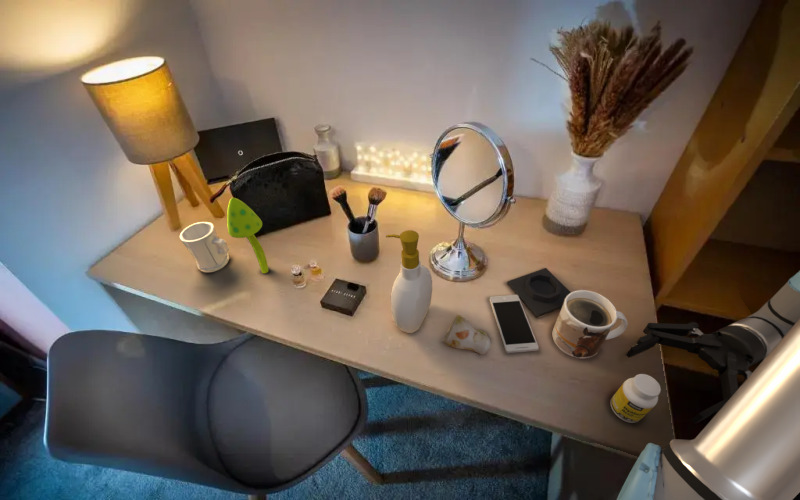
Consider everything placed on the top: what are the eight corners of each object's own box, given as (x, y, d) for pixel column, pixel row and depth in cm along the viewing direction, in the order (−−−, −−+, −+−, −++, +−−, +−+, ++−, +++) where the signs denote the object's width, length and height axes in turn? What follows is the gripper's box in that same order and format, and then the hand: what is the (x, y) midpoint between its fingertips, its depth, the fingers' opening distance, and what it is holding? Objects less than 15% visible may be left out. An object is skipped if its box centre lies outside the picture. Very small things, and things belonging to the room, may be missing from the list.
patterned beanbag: (488, 367, 74) (467, 343, 69) (452, 356, 81) (430, 334, 76) (500, 336, 78) (481, 311, 72) (464, 329, 85) (444, 306, 79)
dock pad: (577, 302, 86) (580, 294, 84) (536, 318, 83) (538, 310, 81) (545, 270, 94) (547, 262, 92) (506, 283, 91) (508, 275, 89)
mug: (564, 312, 84) (578, 280, 76) (618, 340, 77) (638, 309, 70) (544, 341, 78) (556, 310, 71) (599, 374, 72) (619, 343, 64)
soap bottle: (405, 291, 91) (399, 210, 74) (438, 300, 88) (440, 218, 71) (382, 335, 81) (369, 253, 64) (418, 347, 79) (415, 265, 61)
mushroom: (246, 282, 97) (208, 208, 80) (254, 261, 103) (220, 189, 86) (276, 280, 97) (244, 206, 80) (282, 259, 103) (254, 186, 86)
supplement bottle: (612, 420, 65) (633, 395, 58) (607, 392, 69) (626, 366, 62) (645, 426, 64) (670, 402, 57) (638, 398, 68) (660, 372, 61)
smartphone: (517, 296, 88) (518, 294, 87) (538, 350, 76) (539, 348, 76) (488, 298, 88) (489, 296, 87) (506, 353, 76) (506, 351, 76)
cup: (234, 247, 109) (219, 216, 101) (237, 265, 102) (220, 234, 94) (198, 258, 106) (179, 227, 98) (199, 277, 99) (178, 246, 91)
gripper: (803, 410, 62) (718, 461, 57) (675, 308, 80) (601, 340, 75) (836, 391, 57) (746, 444, 52) (691, 286, 75) (613, 319, 70)
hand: (660, 383), depth 64 cm, fingers open, 13 cm apart
